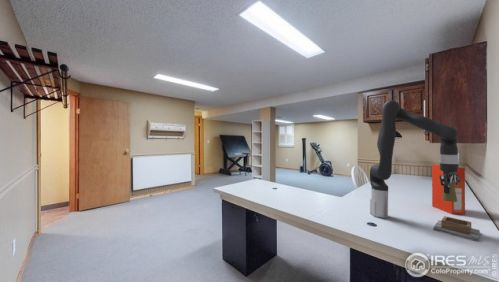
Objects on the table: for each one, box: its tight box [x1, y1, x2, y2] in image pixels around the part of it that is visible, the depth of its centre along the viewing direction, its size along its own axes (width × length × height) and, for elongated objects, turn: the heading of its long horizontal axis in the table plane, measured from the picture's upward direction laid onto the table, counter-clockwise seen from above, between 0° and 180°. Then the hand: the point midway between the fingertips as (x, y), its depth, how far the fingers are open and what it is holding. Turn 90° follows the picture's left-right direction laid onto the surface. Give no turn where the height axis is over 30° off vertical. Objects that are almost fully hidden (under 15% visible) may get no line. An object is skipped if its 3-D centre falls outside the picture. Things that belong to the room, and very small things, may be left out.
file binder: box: [431, 164, 466, 216], centre depth 141 cm, size 8×17×32 cm, turn 172°
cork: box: [442, 181, 457, 202], centre depth 110 cm, size 6×6×11 cm
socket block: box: [433, 215, 481, 242], centre depth 107 cm, size 16×16×6 cm
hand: (449, 192), depth 110 cm, fingers closed on cork, 4 cm apart
